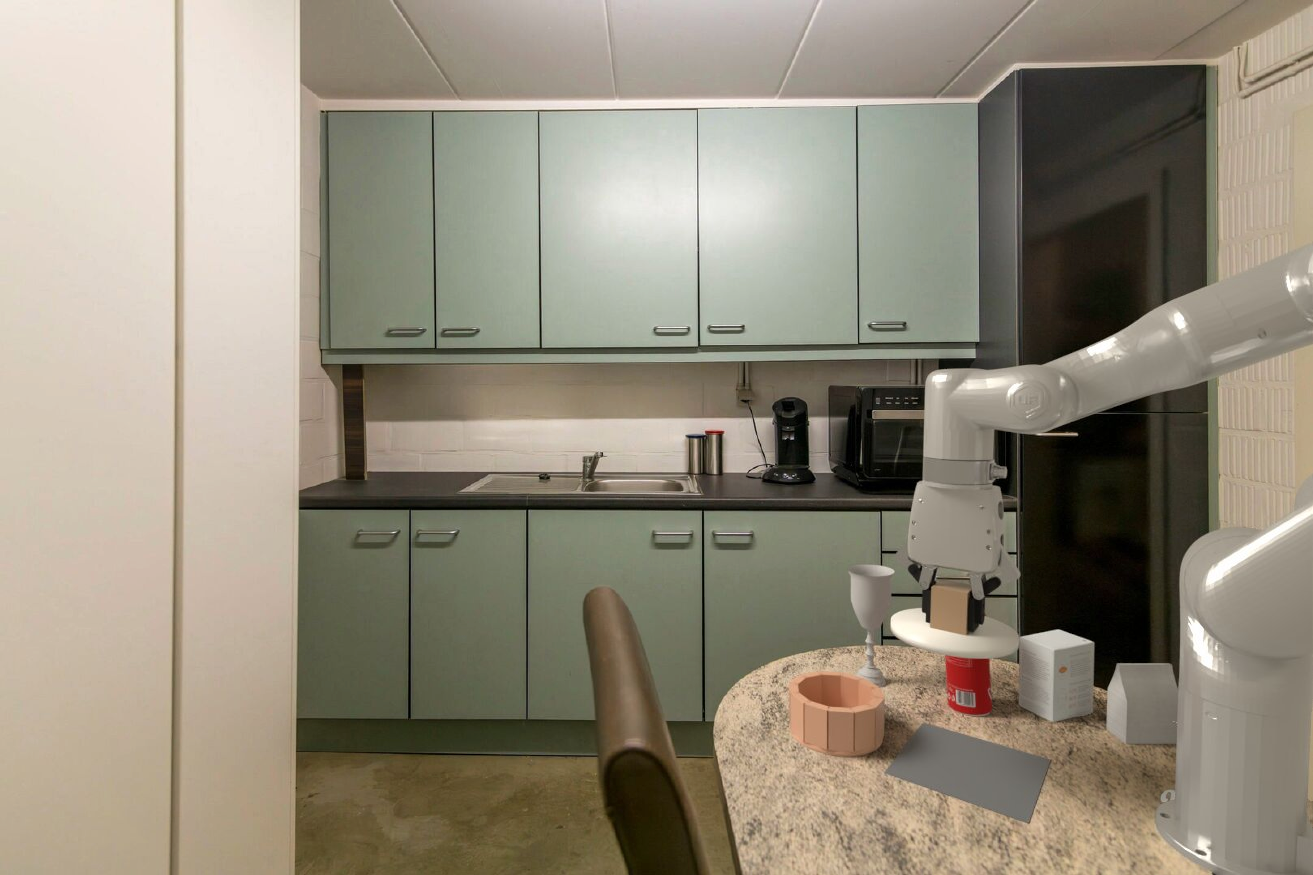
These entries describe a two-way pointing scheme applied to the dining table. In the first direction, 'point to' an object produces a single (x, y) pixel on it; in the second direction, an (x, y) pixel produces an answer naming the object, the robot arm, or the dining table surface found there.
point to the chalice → (871, 609)
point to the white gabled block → (1143, 703)
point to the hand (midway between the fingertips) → (952, 622)
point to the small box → (1056, 675)
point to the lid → (953, 627)
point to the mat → (972, 770)
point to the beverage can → (969, 685)
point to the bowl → (836, 713)
